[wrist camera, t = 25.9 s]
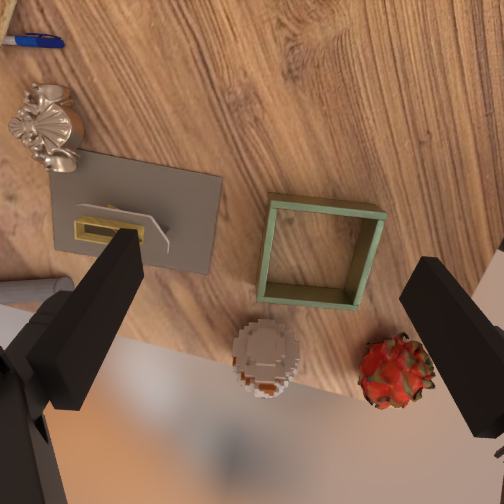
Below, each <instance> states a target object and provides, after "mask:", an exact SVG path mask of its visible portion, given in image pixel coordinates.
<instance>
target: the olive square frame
mask: <svg viewBox="0 0 504 504" xmlns="http://www.w3.org/2000/svg"><path fill="white" fill-rule="evenodd" d="M277 208H278V209H288V210H297V211H306V212H315V213H324V214H333V215H342V216H351V217H360V218H364V220H363V224H362V227H361V231H360V235H359V238H358V242H357V245H356V249H355V253H354V256H353V260H352V263H351V267H350V271H349V274H348V278H347V281H346V285H345V289H344V290H342V289H331V288H321V287H310V286H300V285H289V284H279V283H269V282H266V280H267V273H268V267H269V260H270V254H271V247H272V241H273V234H274V228H275V221H276V215H277ZM387 214H388V213H387V212H385V211H384V210H382V209H381V208H379V207H378V206H376V205H375V204H367V203H359V202H350V201H341V200H332V199H323V198H314V197H305V196H297V195H288V194H279V193H270V192H269V193H268V200H267V207H266V215H265V222H264V229H263V236H262V244H261V251H260V258H259V265H258V272H257V280H256V302H262V303H273V304H284V305H295V306H306V307H317V308H328V309H339V310H349V311H358V308H359V305H360V301H361V298H362V295H363V292H364V288H365V285H366V282H367V279H368V275H369V272H370V269H371V266H372V262H373V259H374V256H375V253H376V249H377V246H378V243H379V240H380V237H381V233H382V230H383V227H384V224H385V220H386V217H387Z"/></svg>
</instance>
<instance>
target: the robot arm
mask: <svg viewBox="0 0 504 504" xmlns="http://www.w3.org/2000/svg"><path fill="white" fill-rule="evenodd" d="M143 278H144V272H143V265H142V258H141V251H140V244H139V237H138V230H137V229H127V228H120V229H119V230H118V231H117V233H116V234H115V235H114V237H113V238H112V239H111V241H110V242H109V244H108V245H107V246H106V248H105V249H104V250H103V252H102V253H101V254H100V256H99V257H98V259H97V260H96V261H95V263H94V264H93V265H92V267H91V268H90V269H89V271H88V272H87V274H86V275H85V276H84V278H83V279H82V280H81V282H80V283H79V284H78V286H77V287H76V288H75V290H74V291H65V290H59V291H58V292H56V293H55V294H54V295H52V296H51V297H49V298H48V299H46V300H45V302H44V303H43V304H42V305H41V306H40V308H39V309H38V310H37V313H35V314H34V315H33V316H32V317H31V319H30V320H29V323H27V324H26V325H25V326H24V327H23V328H22V330H21V331H20V332H19V333H18V335H17V336H16V337H15V338H14V339H13V341H12V342H11V343H10V344H9V346H8V347H7V348H6V349H5V351H4V350H3V349H2V347H1V346H0V504H68V503H67V499H66V496H65V492H64V488H63V484H62V481H61V476H60V473H59V469H58V465H57V461H56V458H55V453H54V450H53V446H52V442H51V438H50V434H49V431H48V427H47V423H46V419H45V416H44V414H43V413H42V412H43V410H44V409H45V407H46V405H47V404H48V402H49V400H50V402H51V403H52V405H53V407H54V409H59V410H60V409H61V410H74V411H79V410H80V408H81V406H82V404H83V402H84V400H85V398H86V396H87V394H88V392H89V390H90V388H91V385H92V383H93V381H94V379H95V377H96V375H97V373H98V371H99V369H100V367H101V365H102V363H103V361H104V359H105V357H106V354H107V352H108V350H109V348H110V346H111V344H112V342H113V340H114V338H115V336H116V334H117V332H118V330H119V328H120V325H121V323H122V321H123V319H124V317H125V315H126V313H127V311H128V309H129V307H130V305H131V303H132V301H133V299H134V296H135V294H136V292H137V290H138V288H139V286H140V284H141V282H142V280H143ZM399 300H400V302H401V303H402V305H403V307H404V309H405V311H406V313H407V314H408V316H409V318H410V320H411V322H412V324H413V325H414V327H415V329H416V331H417V333H418V335H419V337H420V338H421V340H422V342H423V344H424V346H425V348H426V349H427V351H428V353H429V355H430V357H431V359H432V360H433V362H434V364H435V366H436V368H437V370H438V372H439V373H440V375H441V377H442V379H443V380H444V383H445V384H446V386H447V388H448V390H449V392H450V394H451V395H452V397H453V399H454V401H455V403H456V405H457V406H458V408H459V410H460V412H461V414H462V416H463V418H464V419H465V421H466V423H467V425H468V427H469V429H470V430H471V432H472V434H473V436H474V437H479V438H494V439H496V438H497V437H498V436H500V435H501V434H502V433H504V331H503V330H502V329H500V328H499V327H498V326H493V325H492V323H491V322H490V321H489V320H488V319H487V317H486V316H485V315H484V314H483V312H482V311H481V310H480V309H479V308H478V306H477V305H476V304H475V303H474V301H473V300H472V299H471V298H470V297H469V295H468V294H467V293H466V292H465V290H464V289H463V288H462V287H461V286H460V284H459V283H458V282H457V281H456V279H455V278H454V277H453V276H452V275H451V273H450V272H449V271H448V270H447V269H446V267H445V266H444V265H443V264H442V262H441V261H440V260H439V259H438V258H436V257H425V256H422V257H421V258H420V260H419V262H418V264H417V266H416V268H415V270H414V271H413V273H412V275H411V277H410V279H409V281H408V283H407V284H406V286H405V288H404V290H403V292H402V294H401V296H400V297H399ZM503 454H504V446H503V447H502V448H500V449H499V450H498V451H496V453H495V455H494V456H495V457H496V458H499V457H501V456H502V455H503ZM500 504H504V477H503V485H502V493H501V503H500Z"/></svg>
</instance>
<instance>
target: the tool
mask: <svg viewBox="0 0 504 504" xmlns="http://www.w3.org/2000/svg"><path fill="white" fill-rule="evenodd" d="M16 3H17V0H5V1H4V5H3V9H2V13H1V18H0V47H1V44H2V42H3V40H4V38H5V35H6V33H7V30H8V27H9V24H10V21H11V18H12V15H13V12H14V9H15V6H16Z"/></svg>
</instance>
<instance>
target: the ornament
mask: <svg viewBox="0 0 504 504" xmlns="http://www.w3.org/2000/svg"><path fill="white" fill-rule="evenodd" d="M32 87H33V88H34V91H33V92H30V91H29V90H27V89H22V95H23V96H24V98H23V100H22V102H23V103H24V104H26V105H23V106H22V107H20V108H19V109H18V111H17V115H18V118H17V117H12V118H11V120H10V122H9V123H8V126H9V131H10V133H11V134H12V135H13V136H14V137H15V138H18V139H21V138H22V144H23V145H24V147H26V148H29V149H30V151H31V152H32V153H34V154H33V155H32V156H31V157H32V159H34V160H36V161H38V162H39V163H41V164H44V165H45V167H44V169H45V170H46V171H48V172H57V173H71V172H74V171H76V170H77V169H78V168H79V162H78V160H77V159H78V158H81V155H80V154H79V153H77V152H76V151H75V149H76V148H77V147H78V146H79V145H80V144H81V142H82V139H83V135H84V126H83V123H82V121H81V119H80V117H79V116H78V114H77V113H76V112H75V111H73V110H72V109H70V108H69V107H70V106H72V104H73V103H74V100H73V99H69V96H70V91H69V90H68V89H67V88H66V87H64V86H62V85H52V84H40V83H34V82H33V83H32Z"/></svg>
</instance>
